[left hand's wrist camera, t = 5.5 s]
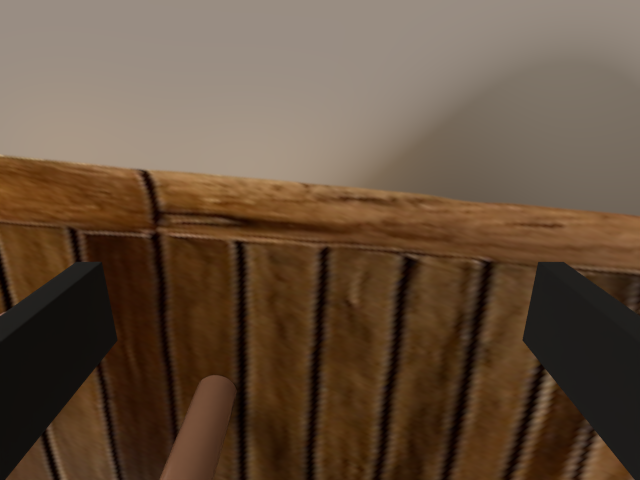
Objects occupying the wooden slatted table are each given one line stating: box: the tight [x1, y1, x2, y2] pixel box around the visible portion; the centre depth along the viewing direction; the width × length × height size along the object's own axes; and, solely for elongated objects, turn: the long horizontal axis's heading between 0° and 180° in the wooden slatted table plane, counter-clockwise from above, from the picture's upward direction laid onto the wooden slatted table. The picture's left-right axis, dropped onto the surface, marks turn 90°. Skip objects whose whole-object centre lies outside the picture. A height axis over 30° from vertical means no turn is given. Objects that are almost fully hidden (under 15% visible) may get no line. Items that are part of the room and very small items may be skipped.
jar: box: [159, 375, 237, 480], centre depth 40 cm, size 5×5×17 cm
